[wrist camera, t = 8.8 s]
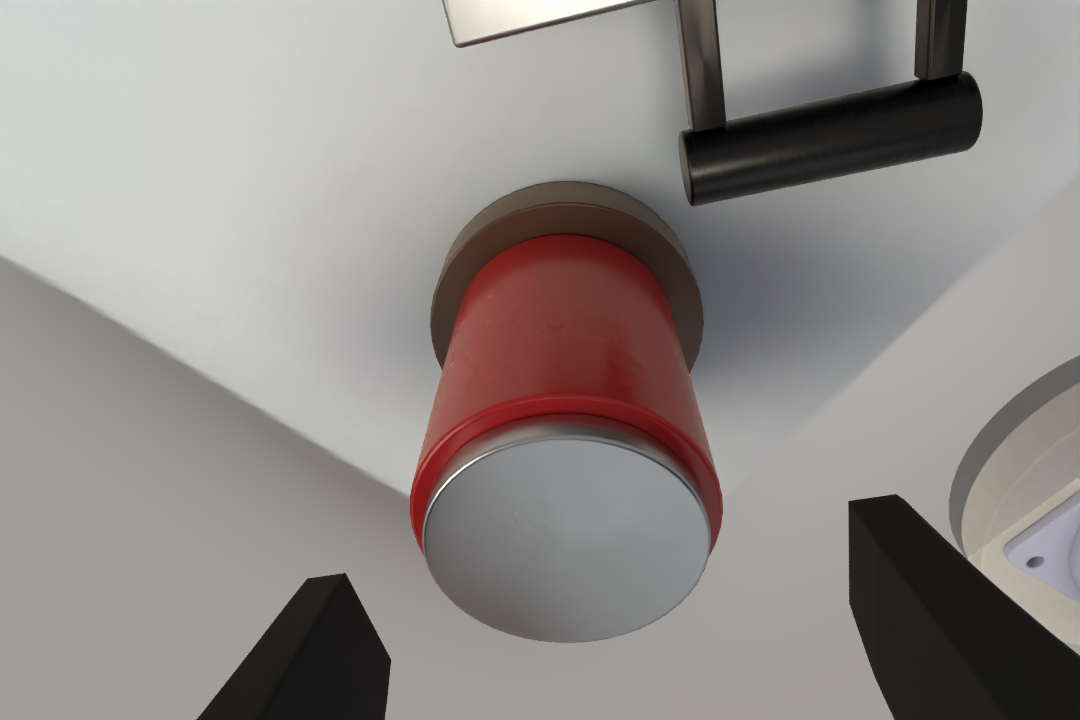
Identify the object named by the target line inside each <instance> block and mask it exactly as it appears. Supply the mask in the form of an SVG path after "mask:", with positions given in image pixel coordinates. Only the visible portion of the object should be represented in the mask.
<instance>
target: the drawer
mask: <svg viewBox="0 0 1080 720" xmlns="http://www.w3.org/2000/svg"><path fill="white" fill-rule="evenodd" d="M652 1H656V0H442V2H443V6H444V10H445V14H446V17H447V21H448V25H449V29H450V32H451V36H452V40H453V43H454V45H455V46H456V47H457V48H463V47H467V46H472V45H476V44H480V43H484V42H488V41H492V40H496V39H500V38H504V37H508V36H512V35H517V34H521V33H525V32H529V31H533V30H537V29H541V28H545V27H549V26H553V25H557V24H562V23H566V22H570V21H574V20H578V19H582V18H586V17H590V16H594V15H598V14H602V13H607V12H611V11H615V10H619V9H623V8H627V7H631V6H635V5H639V4H643V3H647V2H652ZM674 3H675V12H676V20H677V29H678V37H679V46H680V55H681V63H682V72H683V80H684V89H685V98H686V106H687V115H688V123H689V126H690V128H691V129H689V130H684V131H682V132H680V133H679V138H678V146H679V157H680V165H681V171H682V177H683V183H684V187H685V192H686V196H687V199H688V202H689V203H690V205H691V206H698V205H703V204H708V203H713V202H717V201H722V200H727V199H732V198H737V197H742V196H747V195H752V194H757V193H762V192H767V191H772V190H776V189H781V188H786V187H791V186H796V185H801V184H806V183H811V182H816V181H821V180H826V179H830V178H835V177H840V176H845V175H850V174H855V173H860V172H865V171H870V170H875V169H880V168H885V167H889V166H894V165H899V164H904V163H909V162H914V161H919V160H924V159H929V158H934V157H939V156H944V155H948V154H953V153H958V152H963V151H967V150H968V149H970V148H971V147H973V145H974V144H975V143H976V141H977V139H978V137H979V134H980V131H981V126H982V117H983V108H982V99H981V94H980V91H979V88H978V85H977V83H976V81H975V79H974V78H973V76H972V75H971V74H970V73H968V72H966V71H962V67H963V54H964V40H965V27H966V13H967V0H917V20H916V44H915V68H914V75H915V77H917V78H919V79H918V80H914V81H909V82H904V83H900V84H895V85H891V86H886V87H881V88H877V89H872V90H868V91H863V92H859V93H854V94H849V95H845V96H840V97H836V98H831V99H827V100H822V101H817V102H813V103H808V104H804V105H799V106H794V107H790V108H785V109H781V110H776V111H772V112H767V113H762V114H758V115H753V116H749V117H744V118H739V119H735V120H730V121H726V114H725V102H724V91H723V80H722V69H721V58H720V46H719V35H718V24H717V13H716V2H715V0H674Z"/></svg>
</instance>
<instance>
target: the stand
mask: <svg viewBox="0 0 1080 720" xmlns="http://www.w3.org/2000/svg"><path fill="white" fill-rule="evenodd" d="M550 235H580V236H587V237H592V238H596V239H600V240H603V241H606V242H608V243H611V244H614V245H616V246H618V247H620V248H622V249H623V250H625V251H627V252H629V253H630V254H632V255H633V256H634V257H636V258H637V259H638V260H640V261H641V262H642V263H643V264H644V265H645V266H646V267H647V268H648V269H649V270H650V271H651V272H652V273H653V275H654V276H655V277H656V279H657V280H658V281H659V283H660V285H661V286H662V288H663V290H664V292H665V294H666V297H667V299H668V302H669V304H670V308H671V311H672V315H673V319H674V322H675V326H676V329H677V333H678V337H679V340H680V344H681V347H682V351H683V354H684V358H685V362H686V365H687V369H688V372H689V373H690V371H691V370H692V368H693V365H694V363H695V361H696V358H697V356H698V353H699V349H700V345H701V341H702V335H703V325H704V320H703V306H702V301H701V296H700V291H699V288H698V286H697V283H696V280H695V277H694V275H693V272H692V269H691V267H690V264H689V261H688V259H687V256H686V253H685V251H684V249H683V247H682V246H681V244H680V242H679V240H678V238H677V237H676V236H675V234H674V233H673V232H672V230H671V229H670V228H669V226H668V225H667V224H666V223H665V222H664V221H663V220H662V219H661V218H660V217H659V216H658V215H657V214H656V213H654V212H653V211H652V210H650V209H649V208H648V207H646V206H645V205H644V204H642V203H641V202H639V201H637V200H635V199H633V198H632V197H630V196H628V195H626V194H623V193H621V192H618V191H616V190H613V189H611V188H607V187H603V186H599V185H595V184H589V183H580V182H553V183H547V184H540V185H535V186H532V187H528V188H525V189H521V190H518V191H516V192H514V193H511V194H509V195H507V196H504V197H503V198H501V199H499V200H498V201H496V202H494V203H492V204H491V205H489V206H488V207H486V208H485V209H484V210H483V211H481V212H480V213H479V214H478V215H476V216H475V217H474V218H473V219H472V220H471V221H470V223H469V224H468V225H467V226H466V227H465V228H464V229H463V230H462V232H461V233H460V235H459V236H458V237H457V239H456V240H455V242H454V243H453V245H452V247H451V249H450V251H449V253H448V255H447V257H446V260H445V263H444V266H443V269H442V272H441V275H440V278H439V281H438V284H437V287H436V290H435V293H434V296H433V301H432V307H431V322H430V328H431V336H432V343H433V347H434V350H435V354H436V357H437V360H438V362H439V364H440V366H441V369H442V371H443V367H444V364H445V360H446V356H447V352H448V348H449V345H450V341H451V337H452V333H453V330H454V326H455V322H456V318H457V314H458V311H459V307H460V304H461V301H462V299H463V296H464V294H465V292H466V290H467V288H468V286H469V284H470V283H471V281H472V280H473V279H474V277H475V276H476V275H477V273H478V272H479V271H480V270H481V269H482V268H483V267H484V266H485V265H486V264H487V263H488V262H489V261H491V260H492V259H493V258H494V257H496V256H497V255H498V254H500V253H502V252H503V251H505V250H507V249H509V248H510V247H512V246H514V245H517V244H519V243H522V242H524V241H527V240H531V239H534V238H538V237H543V236H550Z"/></svg>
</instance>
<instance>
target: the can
mask: <svg viewBox="0 0 1080 720" xmlns="http://www.w3.org/2000/svg"><path fill="white" fill-rule="evenodd" d="M722 515H723V502H722V493H721V489H720V484H719V480H718V476H717V473H716V469H715V466H714V462H713V458H712V455H711V451H710V448H709V444H708V440H707V437H706V433H705V430H704V426H703V423H702V419H701V415H700V412H699V408H698V405H697V401H696V397H695V394H694V390H693V387H692V383H691V380H690V376H689V372H688V369H687V365H686V362H685V358H684V354H683V351H682V347H681V344H680V340H679V337H678V333H677V329H676V326H675V322H674V319H673V315H672V311H671V308H670V304H669V302H668V299H667V297H666V294H665V292H664V290H663V288H662V286H661V285H660V283H659V281H658V280H657V279H656V277H655V276H654V275H653V273H652V272H651V271H650V270H649V269H648V268H647V267H646V266H645V265H644V264H643V263H642V262H641V261H640V260H638V259H637V258H636V257H634V256H633V255H632V254H630V253H629V252H627V251H625V250H623V249H622V248H620V247H618V246H616V245H614V244H611V243H608V242H606V241H603V240H600V239H596V238H592V237H587V236H580V235H550V236H543V237H538V238H534V239H531V240H527V241H524V242H522V243H519V244H517V245H514V246H512V247H510V248H509V249H507V250H505V251H503V252H502V253H500V254H498V255H497V256H496V257H494V258H493V259H492V260H491V261H489V262H488V263H487V264H486V265H485V266H484V267H483V268H482V269H481V270H480V271H479V272H478V273H477V275H476V276H475V277H474V279H473V280H472V281H471V283H470V284H469V286H468V288H467V290H466V292H465V294H464V296H463V299H462V301H461V304H460V307H459V311H458V314H457V318H456V322H455V326H454V330H453V333H452V337H451V341H450V345H449V348H448V352H447V356H446V360H445V364H444V367H443V371H442V375H441V379H440V382H439V386H438V390H437V394H436V397H435V401H434V405H433V409H432V413H431V416H430V420H429V424H428V428H427V431H426V435H425V439H424V443H423V447H422V450H421V454H420V458H419V462H418V465H417V469H416V473H415V477H414V481H413V485H412V490H411V495H410V516H411V522H412V528H413V531H414V534H415V537H416V540H417V543H418V545H419V547H420V549H421V551H422V553H423V554H424V557H425V560H426V563H427V566H428V569H429V571H430V573H431V575H432V576H433V578H434V580H435V582H436V583H437V585H438V586H439V587H440V589H441V590H442V591H443V593H444V594H445V595H446V596H447V597H448V598H449V599H450V600H451V601H452V602H453V603H454V604H455V605H457V606H458V607H459V608H460V609H462V610H463V611H464V612H465V613H467V614H468V615H470V616H472V617H473V618H475V619H476V620H478V621H480V622H482V623H484V624H486V625H488V626H490V627H492V628H494V629H497V630H500V631H503V632H505V633H508V634H511V635H515V636H519V637H522V638H527V639H533V640H538V641H546V642H557V643H576V642H590V641H597V640H603V639H608V638H612V637H616V636H620V635H624V634H627V633H630V632H632V631H635V630H638V629H640V628H642V627H644V626H647V625H649V624H651V623H653V622H655V621H656V620H658V619H659V618H661V617H663V616H664V615H666V614H668V613H669V612H670V611H671V610H673V609H674V608H675V607H676V606H678V605H679V604H680V603H681V602H682V601H683V600H684V599H685V598H686V597H687V596H688V595H689V594H690V592H691V591H692V590H693V588H694V587H695V586H696V584H697V583H698V581H699V579H700V577H701V575H702V573H703V572H704V569H705V566H706V563H707V560H708V557H709V555H710V554H711V552H712V550H713V548H714V546H715V543H716V540H717V537H718V534H719V531H720V528H721V522H722Z"/></svg>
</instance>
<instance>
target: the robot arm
mask: <svg viewBox="0 0 1080 720" xmlns="http://www.w3.org/2000/svg"><path fill="white" fill-rule="evenodd" d="M1003 553H1004V555H1005V557H1006V558H1007V560H1008V561H1009V562H1010V563H1011V564H1012V565H1014V566H1016V567H1017V568H1019V569H1021V570H1023V571H1024V572H1026V573H1028V574H1029V575H1031V576H1033V577H1035V578H1036V579H1038V580H1040V581H1041V582H1043V583H1045V584H1047V585H1048V586H1050V587H1052V588H1053V589H1055V590H1057V591H1059V592H1060V593H1062V594H1064V595H1066V596H1067V597H1069V598H1071V599H1072V600H1074V601H1076V602H1078V603H1079V604H1080V491H1079V492H1077V493H1076V494H1074V495H1073V496H1072V497H1070V498H1069V499H1068V500H1066V501H1065V502H1063V503H1062V504H1061V505H1059V506H1058V507H1056V508H1055V509H1054V510H1052V511H1051V512H1049V513H1048V514H1047V515H1045V516H1044V517H1043V518H1041V519H1040V520H1038V521H1037V522H1036V523H1034V524H1033V525H1031V526H1030V527H1029V528H1027V529H1026V530H1024V531H1023V532H1022V533H1020V534H1019V535H1018V536H1016V537H1015V538H1013V539H1012V540H1011V541H1009V542H1008V543H1007V544H1006V545H1005V547H1004V549H1003ZM849 603H850V606H851V609H852V612H853V615H854V618H855V621H856V624H857V627H858V630H859V633H860V636H861V639H862V642H863V644H864V648H865V650H866V653H867V656H868V659H869V662H870V665H871V667H872V670H873V673H874V676H875V678H876V680H877V683H878V685H879V687H880V689H881V691H882V694H883V696H884V698H885V700H886V702H887V704H888V707H889V709H890V711H891V712H892V715H893V717H894V719H895V720H1080V656H1079V655H1078V654H1077V653H1075V652H1074V651H1073V650H1072V649H1071V648H1069V647H1068V646H1067V645H1066V644H1065V643H1063V642H1062V641H1061V640H1060V639H1058V638H1057V637H1056V636H1055V635H1053V634H1052V633H1051V632H1050V631H1049V630H1048V629H1046V628H1045V627H1044V626H1043V625H1042V624H1040V623H1039V622H1038V621H1037V620H1036V619H1035V618H1033V617H1032V616H1031V615H1030V614H1029V613H1028V612H1026V611H1025V610H1024V609H1023V608H1022V607H1020V606H1019V605H1018V604H1017V603H1016V602H1015V601H1013V600H1012V599H1011V598H1010V597H1009V596H1008V595H1006V594H1005V593H1004V592H1003V591H1002V590H1001V589H999V588H998V587H997V586H996V585H995V584H994V583H993V582H992V581H990V580H989V579H988V578H987V577H986V576H985V575H984V574H983V573H981V572H980V571H979V570H978V569H977V568H976V567H975V566H974V565H973V564H972V563H970V562H969V561H968V560H967V559H966V558H965V557H964V556H963V555H962V554H961V553H960V552H958V551H957V550H956V549H955V548H954V547H953V546H952V545H951V544H950V543H949V542H947V540H945V539H944V538H943V537H942V536H941V535H940V534H939V533H938V532H937V531H936V530H935V529H934V528H933V527H932V526H931V525H930V524H929V523H928V522H927V521H926V520H925V519H923V517H921V516H920V515H919V514H918V513H917V512H916V511H915V510H914V509H913V508H912V507H911V506H910V505H909V504H908V503H907V502H906V501H905V500H904V499H902V498H901V497H899V496H898V495H896V494H895V495H888V496H881V497H874V498H867V499H860V500H853V501H849ZM390 665H391V659H390V657H389V655H388V653H387V651H386V649H385V647H384V645H383V644H382V642H381V640H380V638H379V636H378V634H377V632H376V630H375V628H374V626H373V624H372V623H371V621H370V619H369V617H368V615H367V613H366V611H365V609H364V607H363V605H362V604H361V602H360V600H359V598H358V596H357V594H356V592H355V590H354V588H353V586H352V585H351V583H350V581H349V579H348V577H347V575H346V574H345V573H343V574H336V575H329V576H323V577H315V578H308V579H307V580H306V581H305V582H304V584H303V585H302V586H301V587H300V588H299V590H298V591H297V592H296V594H295V595H294V596H293V597H292V599H291V600H290V601H289V602H288V604H287V605H286V606H285V607H284V609H283V610H282V612H281V613H280V614H279V615H278V617H277V618H276V619H275V620H274V622H273V623H272V624H271V626H270V627H269V628H268V630H267V631H266V632H265V634H264V635H263V636H262V637H261V639H260V640H259V641H258V642H257V644H256V645H255V646H254V648H253V649H252V651H251V652H250V653H249V654H248V655H247V657H246V658H245V659H244V661H243V662H242V663H241V664H240V666H239V667H238V668H237V670H236V671H235V672H234V673H233V675H232V676H231V677H230V679H229V680H228V681H227V682H226V683H225V685H224V686H223V687H222V688H221V690H220V691H219V692H218V694H217V695H216V696H215V697H214V699H213V700H212V701H211V702H210V704H209V705H208V706H207V708H206V709H205V710H204V711H203V712H202V714H201V715H200V716H199V718H198V719H197V720H385V712H386V704H387V695H388V686H389V676H390Z"/></svg>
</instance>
